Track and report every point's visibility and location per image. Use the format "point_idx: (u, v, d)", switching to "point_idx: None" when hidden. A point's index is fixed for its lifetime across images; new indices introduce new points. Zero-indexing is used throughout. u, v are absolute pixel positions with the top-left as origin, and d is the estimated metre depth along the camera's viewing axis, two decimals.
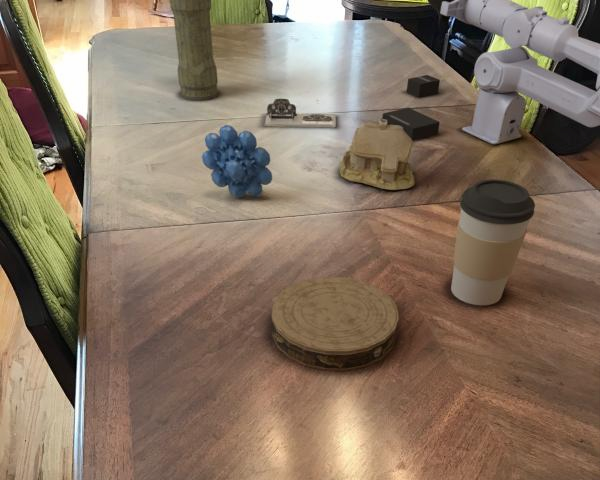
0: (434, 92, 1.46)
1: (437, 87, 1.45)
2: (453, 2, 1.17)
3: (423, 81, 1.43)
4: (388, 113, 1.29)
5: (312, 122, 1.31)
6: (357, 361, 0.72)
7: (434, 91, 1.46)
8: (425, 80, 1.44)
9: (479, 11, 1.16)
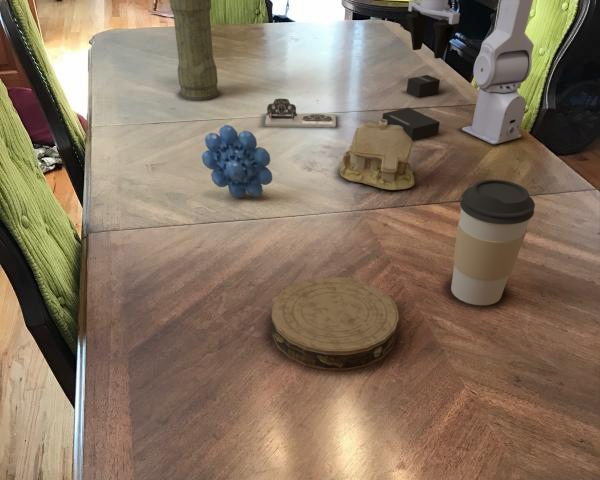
0: (434, 92, 1.46)
1: (437, 87, 1.45)
2: None
3: (423, 81, 1.43)
4: (388, 113, 1.29)
5: (312, 122, 1.31)
6: (357, 361, 0.72)
7: (434, 91, 1.46)
8: (425, 80, 1.44)
9: None
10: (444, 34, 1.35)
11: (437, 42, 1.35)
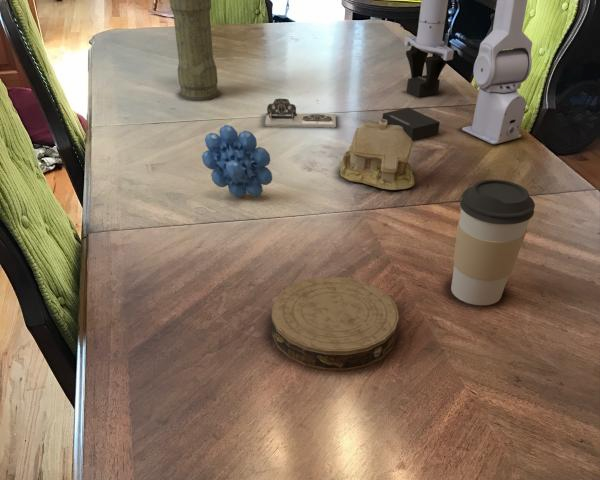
0: (434, 92, 1.46)
1: (437, 87, 1.45)
2: None
3: (423, 81, 1.43)
4: (388, 113, 1.29)
5: (312, 122, 1.31)
6: (357, 361, 0.72)
7: (434, 91, 1.46)
8: (425, 80, 1.44)
9: None
10: (435, 67, 1.41)
11: (428, 75, 1.41)
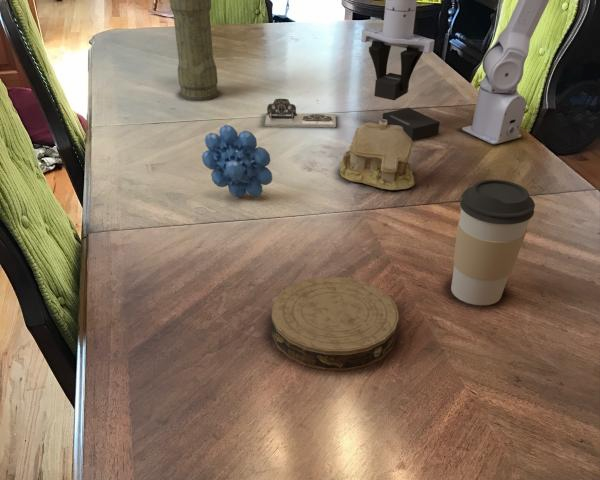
0: (405, 91, 1.24)
1: None
2: None
3: (395, 81, 1.21)
4: (388, 113, 1.29)
5: (312, 122, 1.31)
6: (357, 361, 0.72)
7: (405, 90, 1.24)
8: (396, 79, 1.22)
9: None
10: None
11: (404, 73, 1.19)
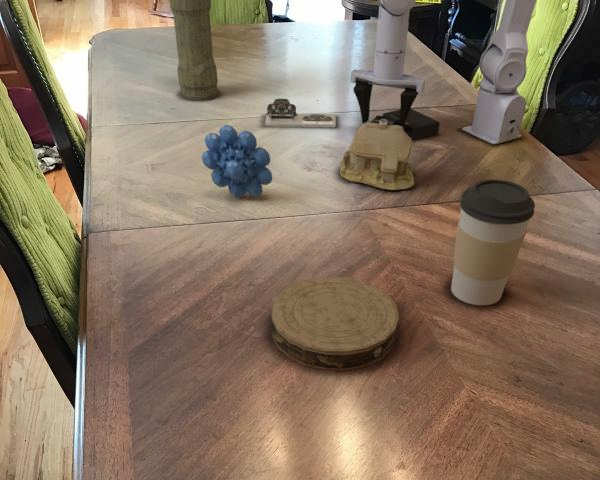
0: None
1: None
2: None
3: None
4: (388, 113, 1.29)
5: (312, 122, 1.31)
6: (357, 361, 0.72)
7: None
8: None
9: None
10: None
11: (403, 113, 1.20)
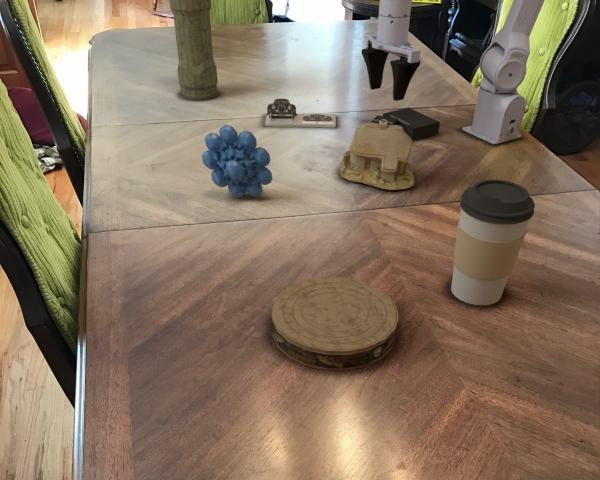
0: None
1: None
2: (406, 51, 1.11)
3: None
4: (388, 113, 1.29)
5: (312, 122, 1.31)
6: (357, 361, 0.72)
7: None
8: None
9: (401, 20, 1.10)
10: None
11: None
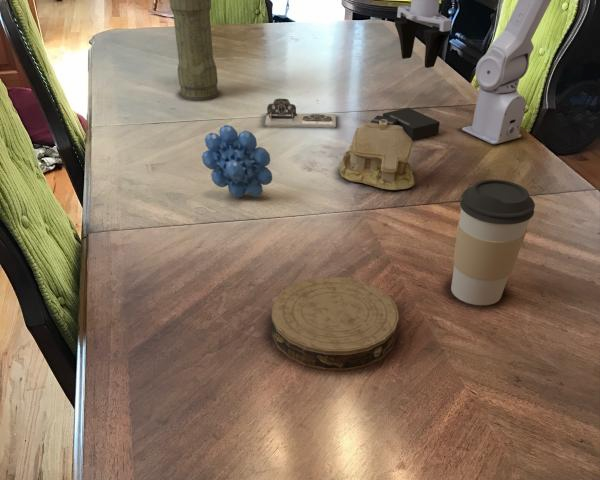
0: None
1: None
2: (438, 21, 1.22)
3: None
4: (388, 113, 1.29)
5: (312, 122, 1.31)
6: (357, 361, 0.72)
7: None
8: None
9: None
10: None
11: None
